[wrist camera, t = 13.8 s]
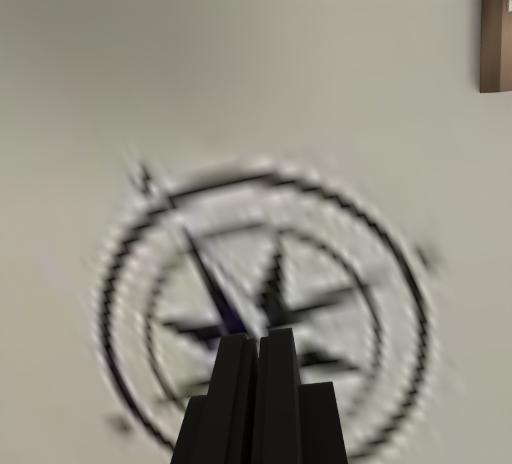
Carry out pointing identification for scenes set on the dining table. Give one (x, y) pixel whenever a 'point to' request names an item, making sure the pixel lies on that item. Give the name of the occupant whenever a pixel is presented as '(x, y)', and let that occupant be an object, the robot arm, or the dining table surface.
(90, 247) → the dining table surface
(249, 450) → the robot arm
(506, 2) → the switch base
